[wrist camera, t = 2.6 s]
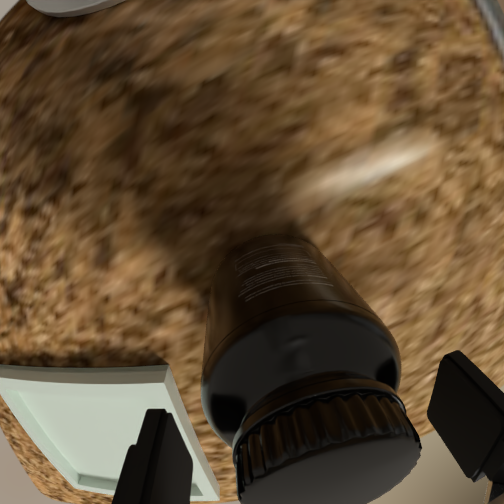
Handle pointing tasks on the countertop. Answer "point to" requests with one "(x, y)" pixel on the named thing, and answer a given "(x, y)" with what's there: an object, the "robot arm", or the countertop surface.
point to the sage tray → (98, 419)
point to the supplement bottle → (302, 380)
